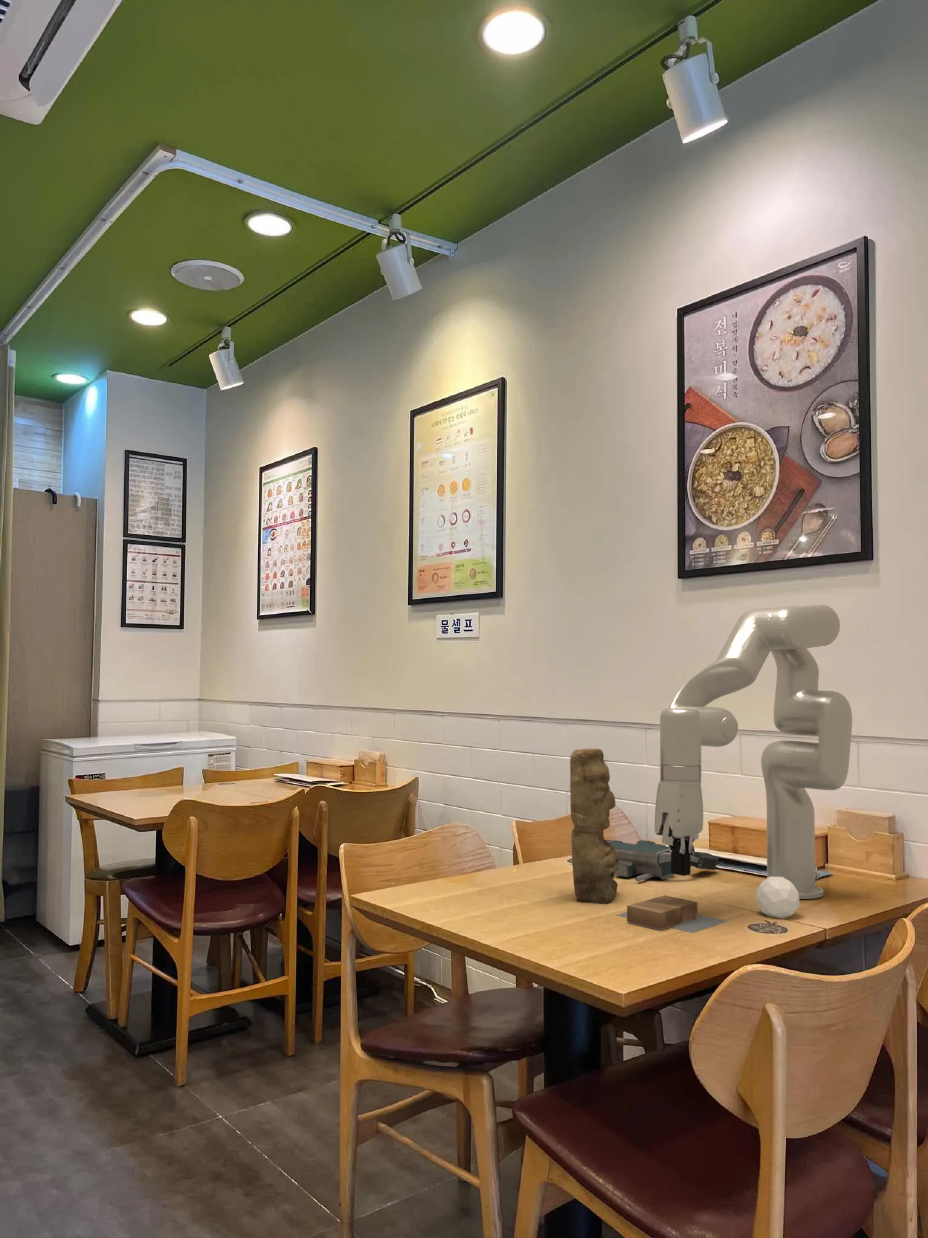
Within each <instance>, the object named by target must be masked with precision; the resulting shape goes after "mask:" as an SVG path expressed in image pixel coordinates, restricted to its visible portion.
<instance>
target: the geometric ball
mask: <svg viewBox="0 0 928 1238" xmlns="http://www.w3.org/2000/svg"><path fill="white" fill-rule="evenodd" d="M755 898H756V899H755V900H756V904H757V906H758V908H759V909H760V911H761V913H763V914H764V915H766V916H767V917H771V918H776V919H787V918H790V917H792V916H793V915H794V914H795V913H796V911H797V910H798V909H799V907H800V904H801V903H800V899H799V892H798V891H797V889H796V888H795V886H794V885H793V884H792V883H791V882H790V881H788V880H787V879H785V878H784V877H768V878H767V877H766V878H765V879H764V880H763V881H761V882H760V883H759V884H758V887H757V889H756V891H755Z"/></svg>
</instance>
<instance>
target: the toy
mask: <svg viewBox="0 0 928 1238" xmlns="http://www.w3.org/2000/svg"><path fill="white" fill-rule="evenodd" d="M605 841H607V842H609V843H611V844H612V845H613V846H614V851H615V852H617V858H618V862H617V863H618V867H617V870H616V871H615V873H616V874H615V876H616V877H622V878H631V877H632V876H636V877H635V881H636V882H641V881H644V880H645V881H646V880H647V879H651V878H654V879H661V880H662V881H665V880H664V879H667V880H669V879H668V878H670V879H672V878H673V877H674V876H675V874H672V873H671V852H670V851H669V846H668V845H666V844H660V843H656V842H654V841H650V840H638V841H637V842H636V843H627V842H624V841H622V840H617V839H616V840H614V839H605ZM690 854H691V866H693V867H694V868H696V869H698V870H706V871H707V870H709V871H710V870H711V871H715V870H716V867H717V865H718V862H719V859H720V858H719V857H717V856H715V855H713V854H711V853H709V852H702V851H695V847H694V844H693V845H692V852H691V853H690ZM671 877H672V878H671Z"/></svg>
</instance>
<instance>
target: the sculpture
mask: <svg viewBox="0 0 928 1238" xmlns="http://www.w3.org/2000/svg"><path fill="white" fill-rule="evenodd" d="M569 757H570V760H569V762H570V763H569V765H570V767H569V771H570V772H569V774H570V775H569V777H570V778H569V779H570V780H569V781H570V783H569V790H570V792H569V794H570V797H569V798H570V819H571V821H572V824H573V828H572V829H571V835H570V837H571V839H570V841H571V864H572V865H571V866H572V877H573V880H572V881H573V888H574V889H573V890H574V895H575V897H576V900H577V901H578V902H583V903H584V902H592V903H593V902H594V903H598V904H604V905H605V904H607V903H608V904H609V903H611V901H612V900H613V899H614V898H615V895H616V893H617V890H618V883H617V881H616V880H614V879H615V876H616V875H615V874H616V873H615V871H616V870H617V867H618V863H617V862H618V858H617V852H615V851H614V846H613V845H612V844H611V843H609V842H607V841H605V840H606V839H605V836H604V832H605V831H604V830H607V829H608V828H609V827H610V826H611V824H610V823H611V822H610V819H609V818H610V810H612V809H614V808H615V807H616V796H615V795H614V794H615V793H613V792H612V791H611V787H610V784H609V782H610V779H611V777H610V769H609V766H608V765H607V764H606V762H605V760H604V752H603V750H602V749H600V748H580V749H575V750H573V752H572V753H571V754H570V756H569Z"/></svg>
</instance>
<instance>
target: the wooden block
mask: <svg viewBox="0 0 928 1238" xmlns="http://www.w3.org/2000/svg"><path fill="white" fill-rule="evenodd" d="M626 912H627V918H626V922H627V923H628V924H632V925H638V926H641V927H644V928H650V929H654V930H658V931H663V930H666V929H668V928H669V927H672V926H676V925H679V924H682V923H685V922H688V921H691V920H695V919H696V918H697V914H698V901H694V900H689V899H684V898H679V897H673V896H670V895H665V894H664V895H661V896H657V897H654V898H651V899H647V900H642V901H639V902H635V903H631V904H627V905H626ZM669 929H670V928H669Z"/></svg>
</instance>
